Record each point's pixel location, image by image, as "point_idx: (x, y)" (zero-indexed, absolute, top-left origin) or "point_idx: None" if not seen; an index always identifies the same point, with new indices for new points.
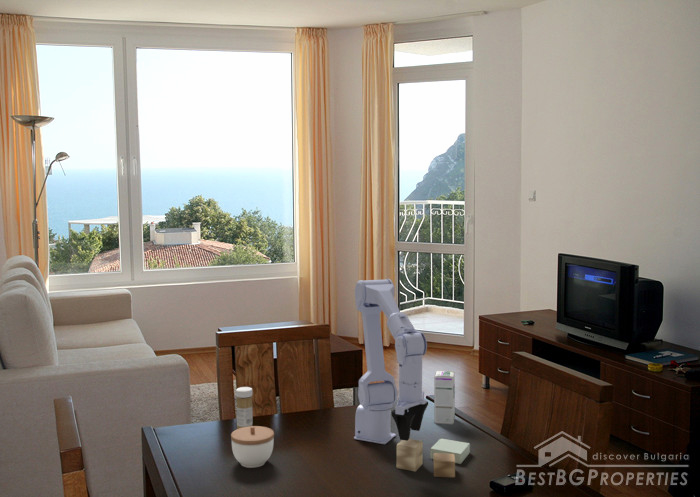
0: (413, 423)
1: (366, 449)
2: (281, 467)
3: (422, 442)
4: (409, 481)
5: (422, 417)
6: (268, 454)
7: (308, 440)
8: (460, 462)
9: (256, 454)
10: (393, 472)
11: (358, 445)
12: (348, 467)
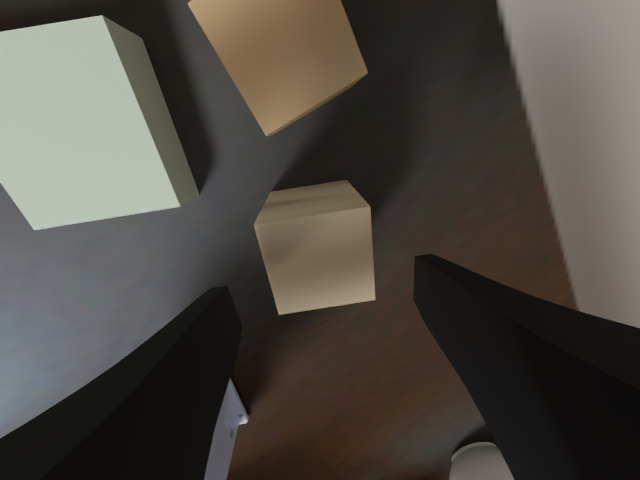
0: (223, 352)
1: (283, 369)
2: (475, 420)
3: (257, 222)
4: (439, 151)
5: (137, 354)
6: (501, 466)
7: (321, 459)
8: (137, 37)
9: None
10: (392, 236)
11: (274, 393)
12: (417, 341)
